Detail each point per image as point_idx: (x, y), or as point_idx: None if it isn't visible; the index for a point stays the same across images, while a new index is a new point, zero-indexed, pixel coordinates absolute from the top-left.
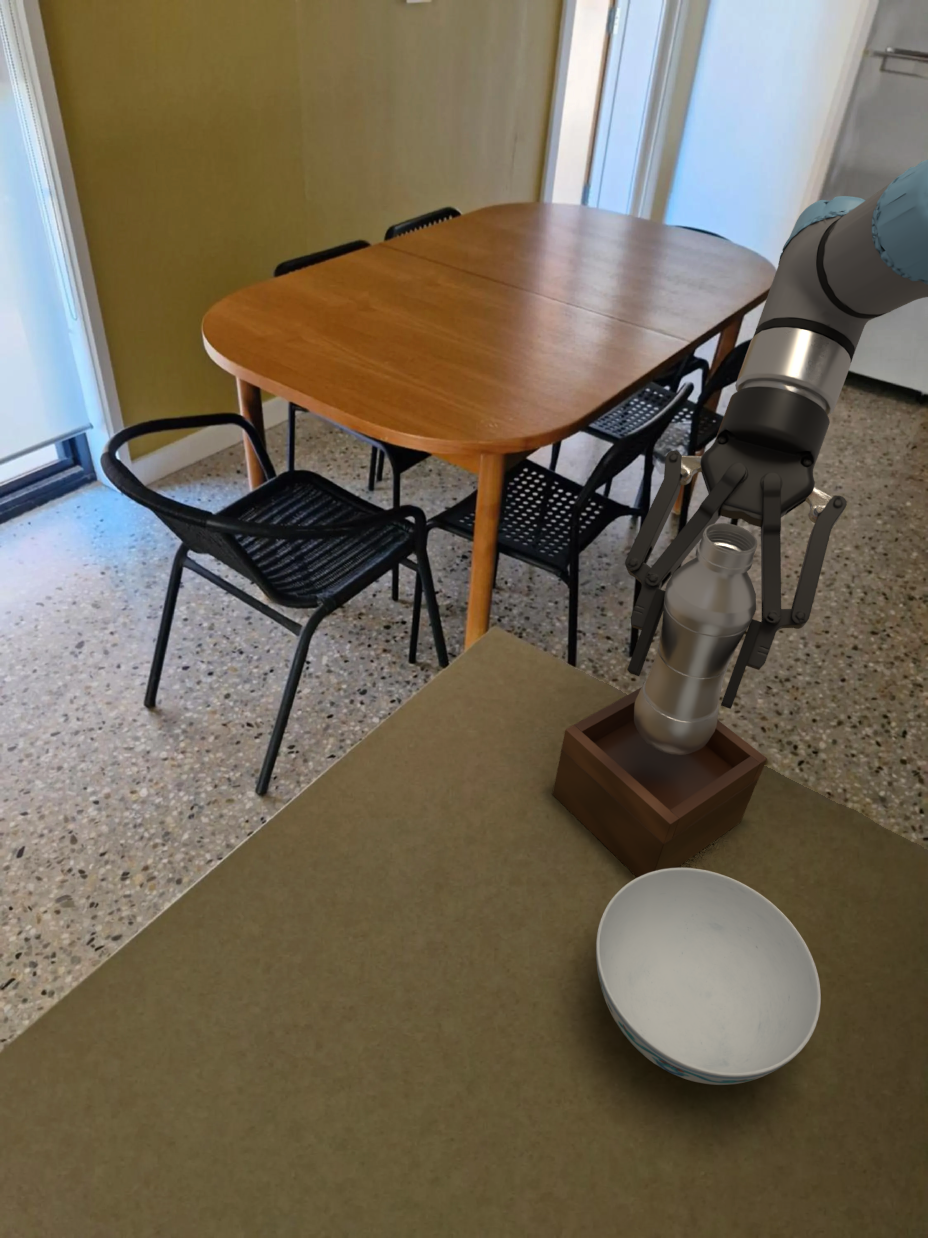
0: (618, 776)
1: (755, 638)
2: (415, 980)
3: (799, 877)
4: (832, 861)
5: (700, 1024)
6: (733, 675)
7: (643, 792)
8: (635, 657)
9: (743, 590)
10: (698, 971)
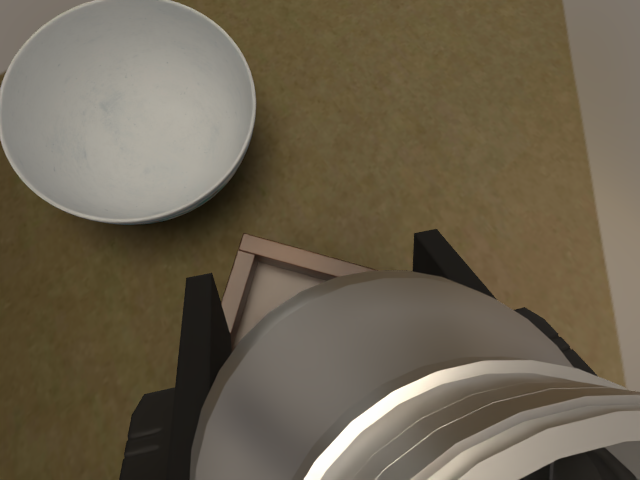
0: (342, 261)
1: (171, 440)
2: (374, 50)
3: (112, 392)
4: (81, 447)
5: (143, 141)
6: (205, 325)
7: (299, 258)
8: (443, 249)
9: (248, 474)
10: (164, 184)
